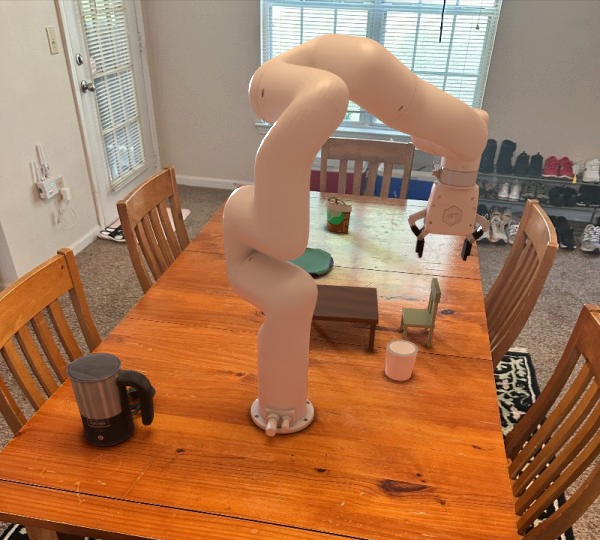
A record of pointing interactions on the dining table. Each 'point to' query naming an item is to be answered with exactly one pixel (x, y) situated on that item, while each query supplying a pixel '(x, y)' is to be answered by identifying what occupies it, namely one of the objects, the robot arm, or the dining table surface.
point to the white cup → (400, 359)
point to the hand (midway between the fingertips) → (441, 257)
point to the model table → (348, 306)
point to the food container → (337, 215)
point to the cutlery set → (314, 261)
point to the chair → (422, 314)
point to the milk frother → (109, 397)
